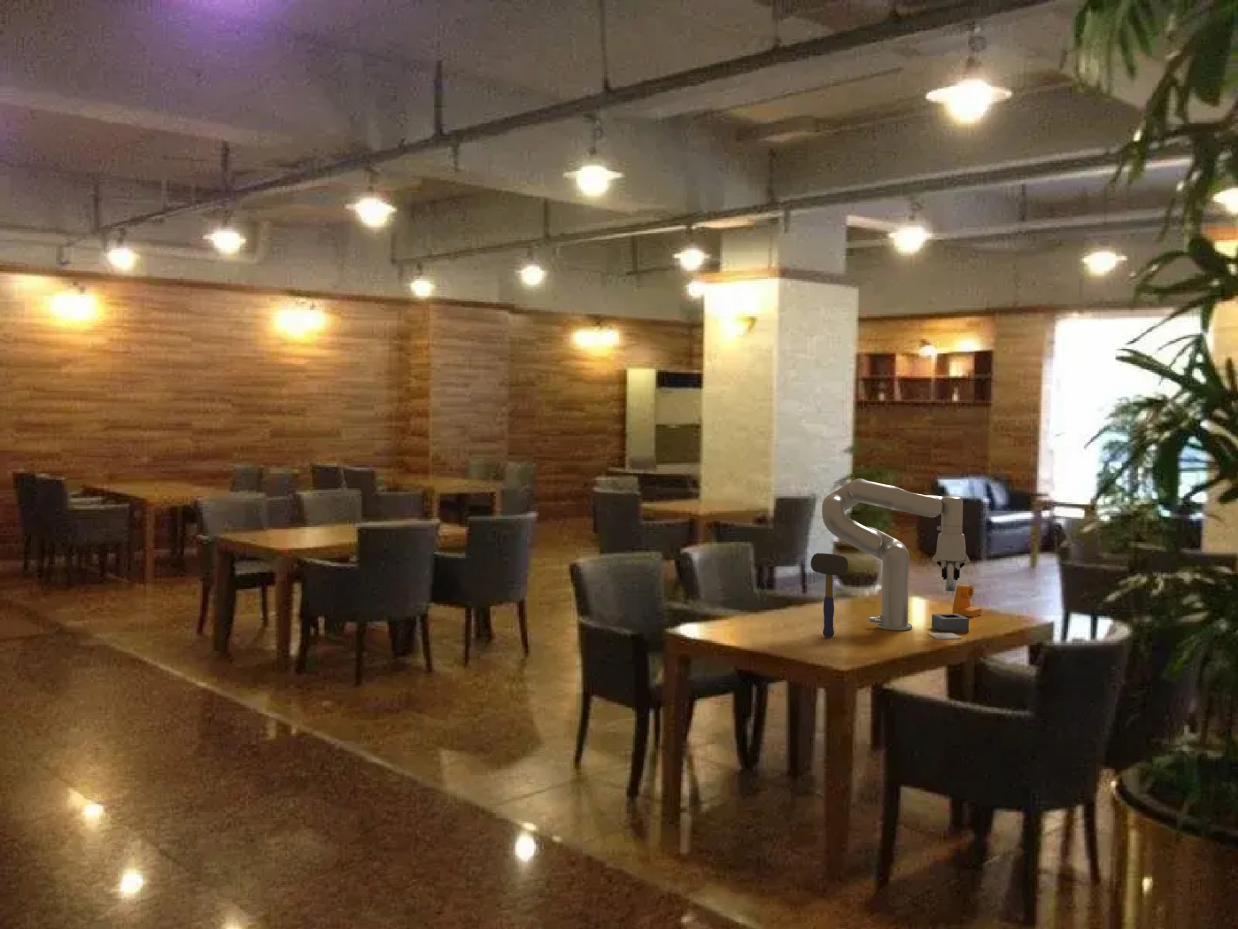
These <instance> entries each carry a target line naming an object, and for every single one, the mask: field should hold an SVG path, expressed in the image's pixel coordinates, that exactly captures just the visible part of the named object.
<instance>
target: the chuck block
mask: <svg viewBox="0 0 1238 929" xmlns="http://www.w3.org/2000/svg"><path fill="white" fill-rule="evenodd" d="M932 627H933V628H932ZM969 627H970V617H967V616H962V615H960V614H952V613H936V614H935V613H932V614H931V628H932V629H934V630H935V631H938V632H939V633H942V632H944V633H951V632H953V633H970V632H969V630H970V629H969Z"/></svg>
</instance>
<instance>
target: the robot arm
mask: <svg viewBox="0 0 1238 929" xmlns="http://www.w3.org/2000/svg"><path fill="white" fill-rule="evenodd" d="M963 500H964V499H963V498H962V497H960V496H956V495H955V496H952V495H949V496H939V495H934V494H932V495H931V494H928V495H924V494H919V493H915V492H912V491H907V490H905V489H903V488H900V487H898V486H896V485H895V486H894V485H889V484H884V483H880V482H879V483H878V482H875V481H870V480H866V479H864V478H855V479H854V480H852V481H850V482H848V483H847V484H845V485H844V486H842V487H840V488H838V489H837V490H835V491H833V492H830V494H828V495H826V496H825V497H824V499H823V500H822V503H821V516H822V521H823V524H824V526H825V528H826V529H827V530H828V532H829V533H831V534H832V535H834V536H835V537H836V538H838V539H841V540H842V541H843V542H845V543H846V544H849V545H851V546H852V547H854V548H856V549H858V551H861V552H862V553H864V554H867V555H871V556H874V557H875V558H877V559H879V560H881V562H882V564H881V565H882V567H881V568H882V569H881V572H882V573H881V614H878V616H870V617H868V622H869V623H875V624H877V625H876V626H877V627H878V628H879V629H882V630H886V631H908V630H912V629H913V625H912V624H911V623H909V574H910V573H909V572H910V554H909V551H908V548H907V547H906V545H905V544H904V543H903V542H902V541H900V540H898V539H896V538H894V537H892V536H890V535H889V534H887V533H885V532H883V531H881V530H880V529H877V528H875V527H872V526H865V525H863V524H861V523H859V522H858V521H856V520H854V519H852V518H850V517H849V516H847V515H846V513H845V512H846V511H848V510H849V509H851V508H853V507H855V506H857V505H858V504H859V503H862V504H866V505H869V506H870V505H871V506H874V507H880V508H884V509H890V510H892V511H898V512H904V513H909V514H913V515H917V516H921V517H928V518H935V517H938V516H940V515H941V516H940V517H941V520H940V524H941V525H939V526H938V525H937V526H936V530H937V531H939V532H940V533H938V536H937V542H936V551H935V554H934V555H933V557H932V559H931V561H932V562H934V564H937V565H938V566H939V567H940V569H941V578H942V580H946V561H955V562H956V570H955V580H956V582H957V581H958V580H959V579H960V577H961V575H960V574H961V569H962V568H963V567H964V566H966V565H968V564H970V563H971V560H970V558H969V556H968V554H967V553H966V552H967V551H966V549H967V548H966V538H965V534H964V533H963V518H964V517H963V514H964V512H963V511H964V502H963Z"/></svg>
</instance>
